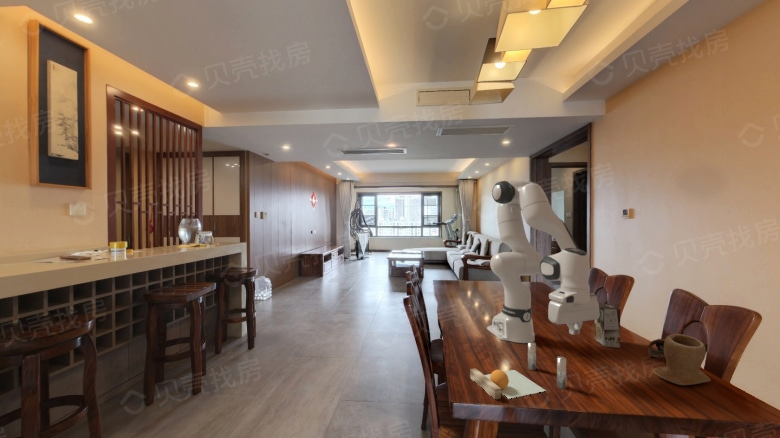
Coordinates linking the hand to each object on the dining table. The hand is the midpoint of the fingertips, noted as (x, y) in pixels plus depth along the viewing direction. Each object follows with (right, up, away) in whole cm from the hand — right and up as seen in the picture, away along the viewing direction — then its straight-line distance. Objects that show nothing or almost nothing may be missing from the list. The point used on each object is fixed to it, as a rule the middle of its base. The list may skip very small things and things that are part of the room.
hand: (574, 333), depth 107 cm
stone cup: (+33, -14, -7) cm, 36 cm away
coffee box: (+30, -14, +25) cm, 41 cm away
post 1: (-14, -13, +2) cm, 19 cm away
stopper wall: (-35, -13, -11) cm, 39 cm away
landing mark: (-26, -13, -9) cm, 30 cm away
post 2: (-10, -13, -10) cm, 20 cm away
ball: (-31, -10, -12) cm, 34 cm away
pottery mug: (+41, -14, +10) cm, 45 cm away
